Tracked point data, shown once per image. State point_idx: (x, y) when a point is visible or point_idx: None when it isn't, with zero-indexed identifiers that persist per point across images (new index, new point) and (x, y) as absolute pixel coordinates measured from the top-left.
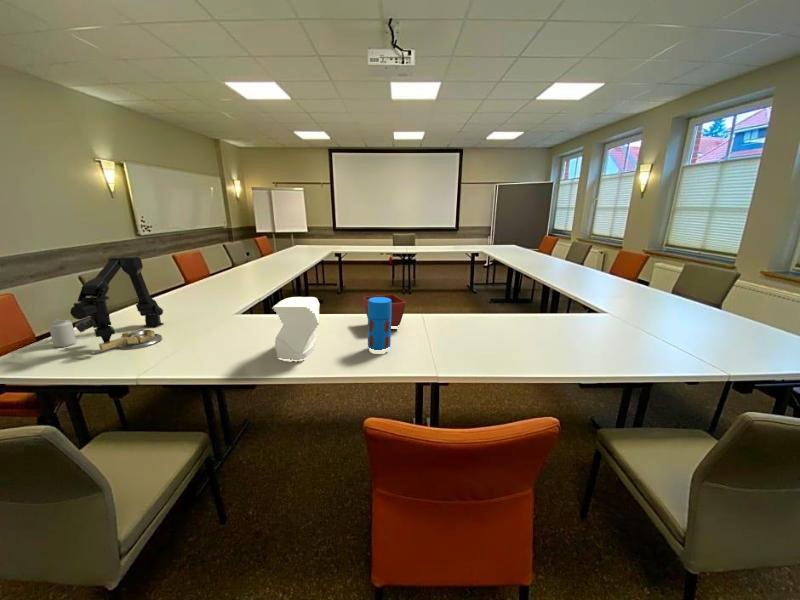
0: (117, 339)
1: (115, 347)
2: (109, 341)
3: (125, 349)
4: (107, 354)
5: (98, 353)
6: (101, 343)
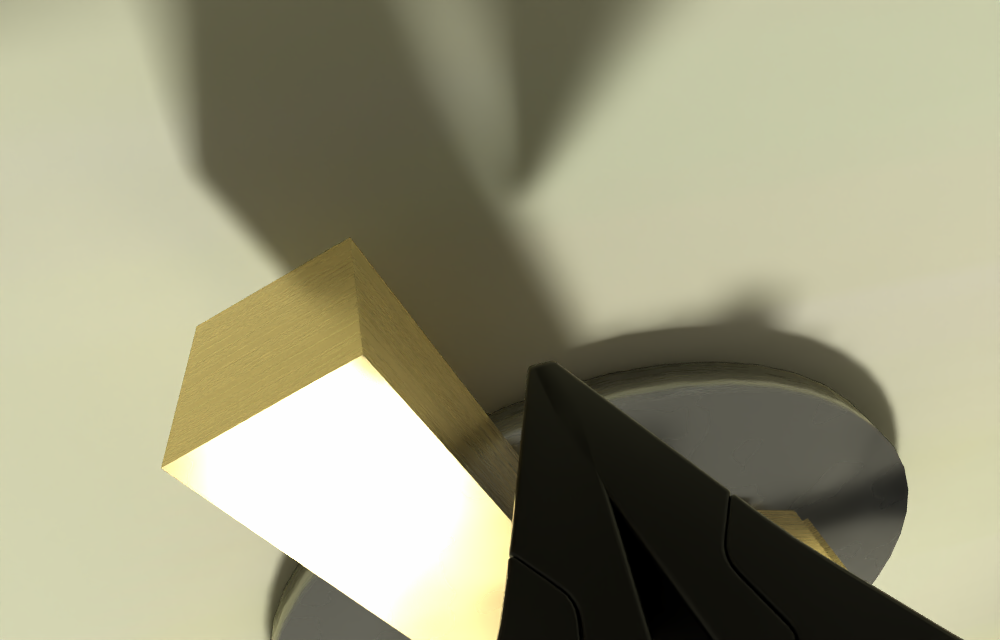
0: None
1: (518, 408)
2: (476, 546)
3: (299, 566)
4: (96, 363)
5: (269, 151)
6: (380, 415)
